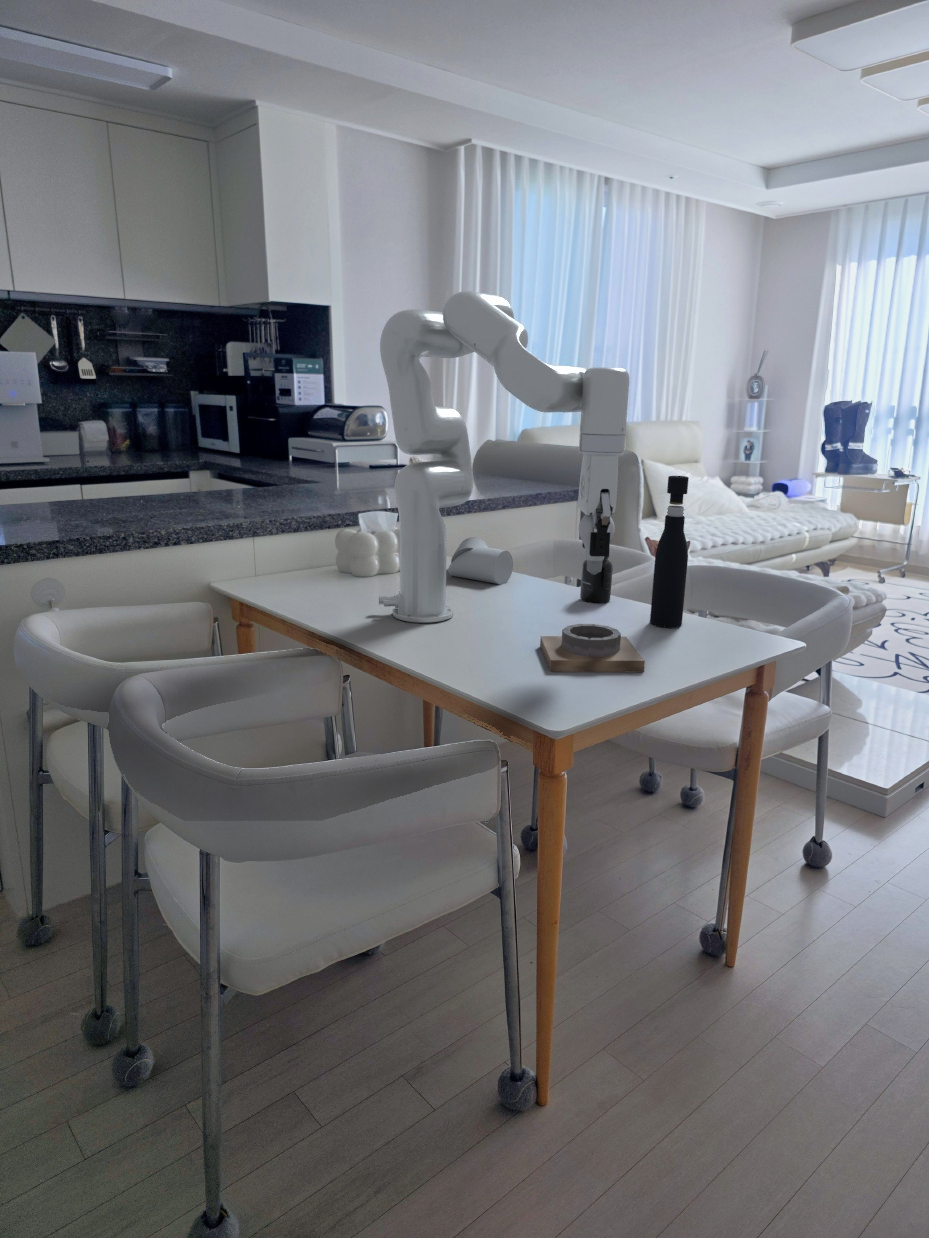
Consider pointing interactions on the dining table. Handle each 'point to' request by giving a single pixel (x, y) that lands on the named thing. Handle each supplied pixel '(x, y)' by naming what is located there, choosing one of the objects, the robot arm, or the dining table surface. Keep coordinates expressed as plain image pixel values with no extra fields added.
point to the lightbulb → (585, 531)
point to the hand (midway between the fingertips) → (595, 551)
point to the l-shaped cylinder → (481, 562)
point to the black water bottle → (671, 561)
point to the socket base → (591, 650)
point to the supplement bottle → (596, 583)
